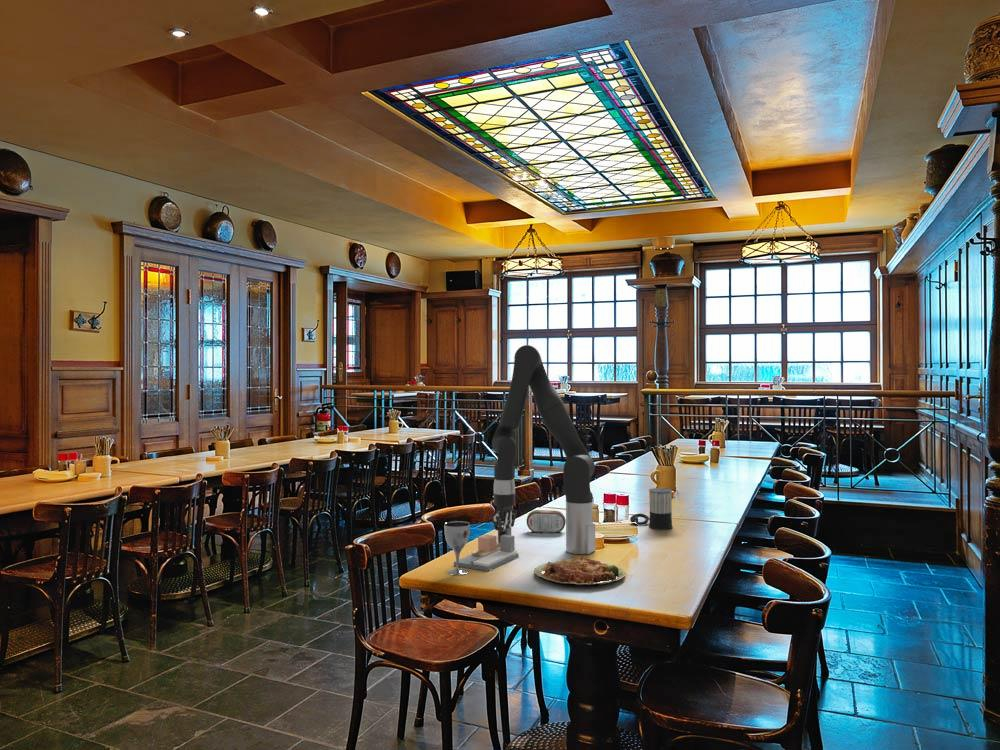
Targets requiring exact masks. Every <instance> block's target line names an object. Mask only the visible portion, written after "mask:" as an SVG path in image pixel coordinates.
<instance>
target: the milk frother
mask: <svg viewBox="0 0 1000 750" xmlns="http://www.w3.org/2000/svg"><path fill="white" fill-rule="evenodd" d="M648 493H649V516H648V515H647V514H644V513H635V514H633V515H631V516H630V518H629V520H630V521H631V522H636V523H637V524H638V525H637V526H643V525H646V524H648V527H649V528H651V529H654V530H670V529H671V530H672V529H673V520H672V519H673V518H672V516H673V515H672V514H673V513H672V511H673V510H672V508H673V507H672V506H673V505H672V493H673V490H672V489H671V488H664V487H663V488H662V487H654V488H649V489H648ZM639 518H643V519H645V520H643V521H639ZM630 521H629V522H630ZM631 522H630V523H631ZM648 522H649V523H648Z"/></svg>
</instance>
